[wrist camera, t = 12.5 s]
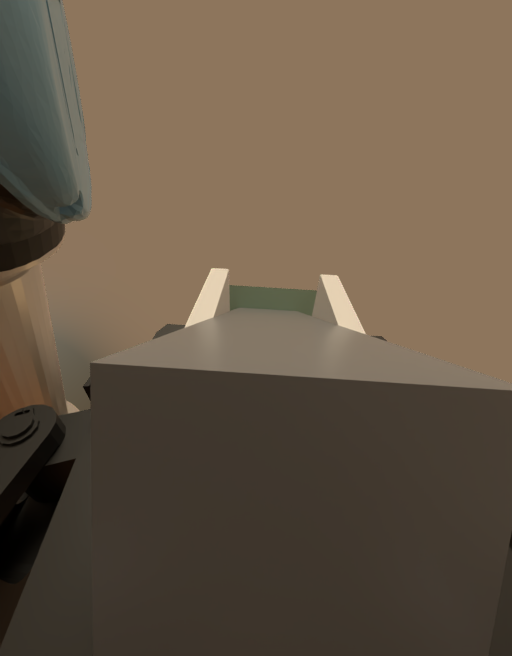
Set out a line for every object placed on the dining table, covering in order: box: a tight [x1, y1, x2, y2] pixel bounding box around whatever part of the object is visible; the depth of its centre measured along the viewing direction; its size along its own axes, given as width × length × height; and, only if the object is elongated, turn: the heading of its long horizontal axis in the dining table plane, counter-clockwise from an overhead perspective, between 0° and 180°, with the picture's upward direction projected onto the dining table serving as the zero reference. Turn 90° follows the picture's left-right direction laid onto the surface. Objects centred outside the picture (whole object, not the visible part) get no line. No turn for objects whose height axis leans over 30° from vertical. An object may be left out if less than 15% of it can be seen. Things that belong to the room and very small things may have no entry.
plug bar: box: [90, 285, 512, 656], centre depth 13 cm, size 22×7×6 cm, turn 179°
